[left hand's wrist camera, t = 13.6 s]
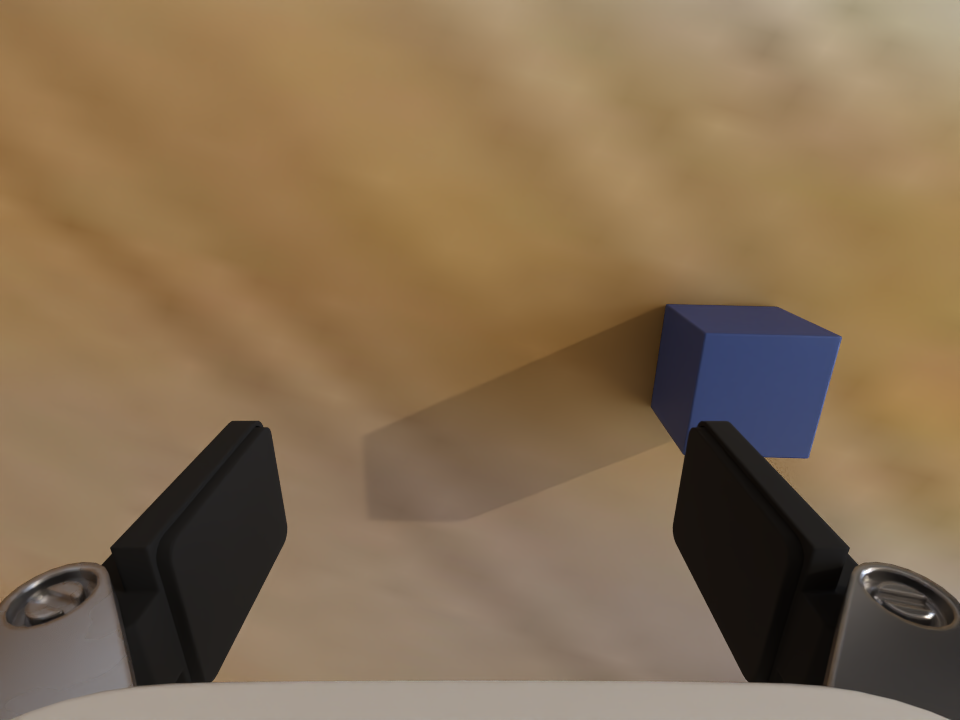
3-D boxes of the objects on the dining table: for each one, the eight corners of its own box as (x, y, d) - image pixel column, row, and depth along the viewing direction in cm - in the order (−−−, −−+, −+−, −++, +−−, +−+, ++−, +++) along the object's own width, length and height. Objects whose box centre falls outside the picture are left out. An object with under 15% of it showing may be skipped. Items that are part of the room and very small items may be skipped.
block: (650, 407, 24) (682, 455, 20) (665, 303, 22) (705, 333, 18) (754, 409, 24) (809, 459, 20) (777, 306, 22) (843, 336, 18)
